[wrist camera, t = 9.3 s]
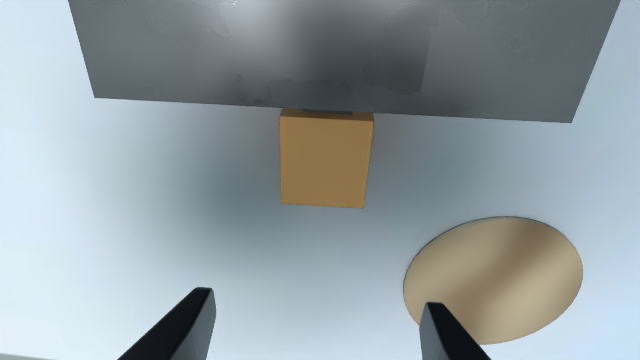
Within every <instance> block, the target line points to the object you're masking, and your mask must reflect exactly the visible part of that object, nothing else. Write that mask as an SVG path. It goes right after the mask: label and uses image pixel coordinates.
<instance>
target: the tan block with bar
mask: <svg viewBox="0 0 640 360" xmlns="http://www.w3.org/2000/svg"><path fill="white" fill-rule="evenodd" d="M373 126H374V119H373V114H372V112H353V111H334V110H316V109H297V108H283V109H282V112H281V114H280V171H281V203H282V204H299V205H315V206H332V207H349V208H364V201H365V193H366V185H367V176H368V168H369V160H370V151H371V143H372V135H373Z"/></svg>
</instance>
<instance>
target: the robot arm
mask: <svg viewBox="0 0 640 360" xmlns="http://www.w3.org/2000/svg"><path fill="white" fill-rule="evenodd" d="M215 319H216V305H215V299H214V292H213V290H212V288H205V287H197V288H195V289H193V290H192V291H191V292H190V293H189V294H188V295H187V296H186V297H185V298H184V299H183V300H181V301H180V302H179V303H178V304H177V305H176V306H175V307H174V308H173V309H172V310H171V311H169V312H168V313H167V314H166V315H165V316H164V317H163V318H162V319H161V320H160V321H159V322H158V323H156V324H155V325H154V326H153V327H152V328H151V329H150V330H149V331H148V332H147V333H146V334H145V335H143V336H142V337H141V338H140V339H139V340H138V341H137V342H136V343H135V344H134V345H133V346H132V347H130V348H129V349H128V350H127V351H126V352H125V353H124V354H123V355H122V356H121V357H120V358H119V359H117V360H206V357H207V353H208V349H209V344H210V340H211V336H212V332H213V327H214V323H215ZM419 330H420V340H421V349H422V358H423V360H491V359H490V358H489V356H488V355H487V354H486V353H485V352H484V351H483V349H482V348H481V347H480V346H479V345H478V343H477V342H476V341H475V340H474V339H473V338H472V336H471V335H470V334H469V333H468V332H467V330H466V329H465V328H464V327H463V326H462V325H461V323H460V322H459V321H458V320H457V319H456V318H455V316H454V315H453V314H452V313H451V312H450V310H449V309H448V308H447V307H446V306H445V305H444V304H443V303H441V302H430V301H428V302H426V303H425V305H424V309H423V313H422V317H421V320H420V327H419Z"/></svg>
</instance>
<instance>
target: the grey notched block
mask: <svg viewBox="0 0 640 360" xmlns="http://www.w3.org/2000/svg"><path fill="white" fill-rule="evenodd" d="M620 1H621V0H68V2H69V6H70V9H71V13H72V17H73V20H74V24H75V28H76V31H77V35H78V39H79V42H80V46H81V50H82V53H83V57H84V61H85V64H86V68H87V72H88V76H89V79H90V83H91V87H92V90H93V94H94V98H109V99H128V100H146V101H165V102H184V103H203V104H222V105H240V106H259V107H278V108H297V109H316V110H334V111H353V112H372V113H391V114H410V115H428V116H447V117H466V118H485V119H504V120H522V121H541V122H560V123H572V120H573V118H574V115H575V113H576V110H577V108H578V105H579V103H580V100H581V98H582V95H583V93H584V90H585V88H586V85H587V83H588V80H589V78H590V75H591V73H592V70H593V68H594V65H595V63H596V60H597V58H598V55H599V53H600V50H601V48H602V45H603V43H604V40H605V38H606V35H607V33H608V30H609V28H610V25H611V23H612V20H613V18H614V15H615V13H616V10H617V8H618V5H619V3H620Z"/></svg>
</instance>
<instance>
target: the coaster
mask: <svg viewBox="0 0 640 360" xmlns="http://www.w3.org/2000/svg"><path fill="white" fill-rule="evenodd" d="M582 279H583V267H582V262H581V259H580V256H579V254H578V252H577V251H576V249H575V247H574V246H573V245H572V244H571V242H570V241H569V240H568V239H567V238H566V237H565V236H564V235H563V234H561V233H560V232H559V231H558V230H556V229H554V228H552V227H551V226H549V225H547V224H544V223H541V222H539V221H535V220H531V219H527V218H519V217H494V218H486V219H481V220H476V221H472V222H469V223H466V224H463V225H460V226H458V227H455V228H453V229H451V230H449V231H447V232H445V233H443V234H441V235H440V236H438V237H437V238H435V239H434V240H432V241H431V242H430V243H429V244H428V245H426V246H425V247H424V248H423V249H422V250H421V251H420V252H419V253H418V254H417V256H416V257H415V258H414V260H413V261H412V263H411V264H410V266H409V268H408V270H407V273H406V276H405V280H404V298H405V302H406V306H407V309H408V311H409V313H410V315H411V316H412V318H413V319H414V321H415V322H416V323H417V324H418V325H419V326H420V320H421V317H422V313H423V309H424V305H425V303H426V302H428V301H430V302H441V303H443V304H444V305H445V306H446V307H447V308H448V309H449V310H450V312H451V313H452V314H453V315H454V316H455V318H456V319H457V320H458V321H459V322H460V323H461V325H462V326H463V327H464V328H465V329H466V330H467V332H468V333H469V334H470V335H471V336H472V338H473V339H474V340H475V341H476V342H477V343H478V345H486V344H496V343H502V342H507V341H512V340H515V339H518V338H521V337H524V336H527V335H529V334H532V333H534V332H536V331H538V330H540V329H542V328H543V327H545V326H547V325H548V324H550V323H551V322H553V321H554V320H555V319H557V318H558V317H559V316H560V315H561V314H562V313H563V312H564V311H566V309H567V308H568V307H569V306H570V305H571V303H572V302H573V300H574V299H575V297H576V296H577V294H578V291H579V289H580V287H581V283H582Z"/></svg>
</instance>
